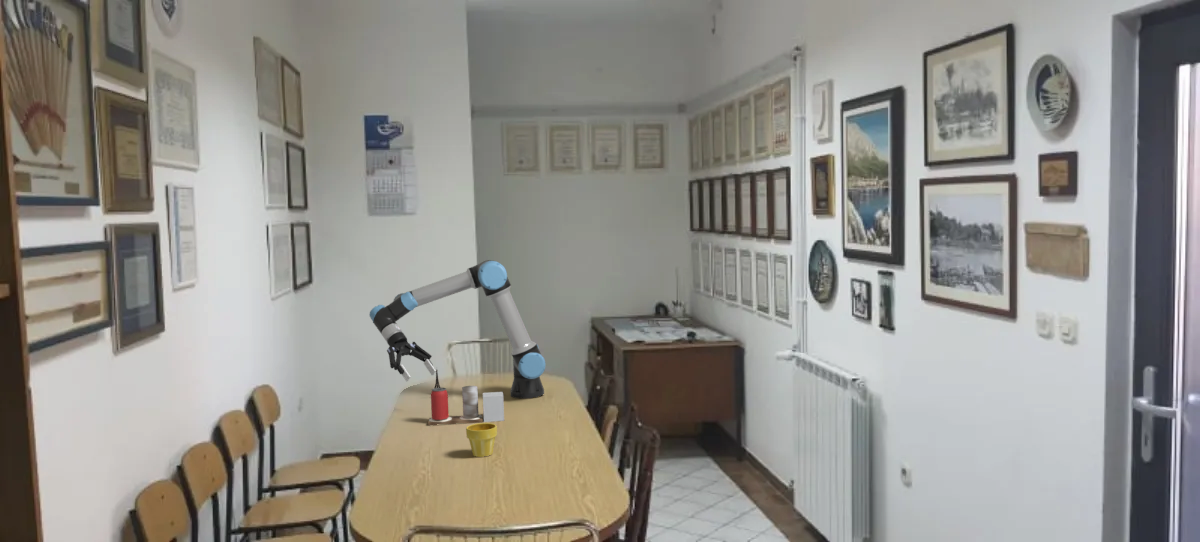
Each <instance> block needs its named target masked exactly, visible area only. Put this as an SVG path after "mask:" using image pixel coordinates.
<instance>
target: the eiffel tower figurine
mask: <svg viewBox="0 0 1200 542" xmlns="http://www.w3.org/2000/svg"><path fill="white" fill-rule="evenodd" d="M435 370H436V372H435V384H434V388H442V387H441V386H440V381H439V373H438V368H436V369H435ZM434 388H433V389H434Z"/></svg>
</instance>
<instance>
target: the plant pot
mask: <svg viewBox="0 0 1200 542" xmlns="http://www.w3.org/2000/svg"><path fill="white" fill-rule="evenodd" d="M465 432H466V438H467V439H468V441H469V445H470V449H471V452H472V456H473V457H475V456H476V458H485V457H484V456H487V457H490V456H492V455H493V454H494V448H495V446H494V445H495V443H496V442H495V440H496V438H497V435H498V426H497V425H496V424H495V423H492V422H479V423H472V424H469V425H468V426H466V427H465ZM489 455H490V456H489Z"/></svg>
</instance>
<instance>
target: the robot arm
mask: <svg viewBox="0 0 1200 542" xmlns="http://www.w3.org/2000/svg"><path fill="white" fill-rule="evenodd" d="M479 288H482V290H483V292H484V294H485V297H487V298H489V299H491V302H492V304H493V306H494V308H495V311H496V313H497V315H498V318H499V320H500V323H501V326H503V329H504V331H505V334H506V335H507V338H508V340H509V343H510V345H511V348H512V350H511V356H512V365H513V369H512V370H513V380H512V384H511V388H510V397H511V398H515V399H533V397H535V398H539V397H538V396H540V397H542V396H541V395H543V394H544V395H545V389H544V386H543V383H542V380H541V378H540V377H541V376H542V375H543V373H544V372H545V369H546V359H545V357H543V355H542V353H541V350H540V347H539V344H538V343H537V342H535V341H533V340H532V339H531V336H530V335H529V332H528V330H527V328H526V326H525V323H524V321H523V319H522V316H521V314H520V311H519V309H518V307H517V304H516V302H515V300H514V298H513V295H512V293H511V288H512V284H511V281H510V280H509V278H508V273H507V269H506V268H505V266H504V265H503V264H501V263H500V262H498V261H496V260H491V259H488V260H487V259H486V260H483V261H482V262H480V263H477V264H476V265H474V266H471V267H468V268H467V269H466V270H465V271H464V272H461V273H459V274H458V273H457V274H455V275H451V276H449V277H446V278H444V279H440V280H438V281H435V282H432V283H430V284H426V285H423V286H421V287H418V288H415V289H412V290H409V291H406V292H404V293H403V292H402V293H399V294H397V295H396V296H394V298H393V301H392V302H390V303H389V304H388V305H386V306H385V305H383V304H378V305H377V306H374V307H373V308H371V310H370V311H369V317H370V319H371V321H372V323H373V324H374V326H375V327H376V329H377V330H378V331H379V333H380V334H381V336H382V337H383V338H384V340H385V341H386V343H387V345H388V346H389V347H388V348H387V350H386V352H387V354H388V359H389V366H390V369H394V371H397V372H398V373H399V375H401V376H402V377H403V378H404V380H405V382H409V380H410V379H411V375H410V373H409V372H408V371H407V369H406V367H405V366H404V364H401V362H402V357H404V356H412V357H414V358H416V359H418V360H420V361H422V362H423V365H424V366H425V368H426V370H427V371H428V372H429V374H430V375H431V376H434V375H435V374H436V369H435V367H434V365H433V363H432V361H431V360H430V359H431V358H432V356H433V355H431V354H430V353H429V352H427V351H426V350H424V349H423V348H422V347H421V346H419V345H418V344H417V343H416V342H415V341H412V343H409V341H408V338H407V336H406V335H405V333H404V332H403V330H402V329H401V328H400V326H399V325H398V323H397V322H398V321H399V320H400V319H402V318H403V317H404V316H405V315H407V314H408V313H410V312H411V311H413V310H415V309H416V308H417V307H420V306H424V305H427V304H429V303H433V302H434V301H437V300H441V299H444V298H446V297H449V296H452V295H455V294H458V293H461V292H463V291H466V290H469V289H474V290H476V289H479ZM395 353H396V355H395ZM544 395H543V396H544Z"/></svg>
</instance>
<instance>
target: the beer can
mask: <svg viewBox="0 0 1200 542" xmlns="http://www.w3.org/2000/svg"><path fill="white" fill-rule="evenodd" d="M430 394H431V396H430V404H431V410H430V411H431V418H432V419H433V420H437V421H440V420H446V419H448V417H450V415H449V396H448V395H449V394H448V391H447V388H446V387H441V388H439V387H438V388H432V389H431V393H430Z"/></svg>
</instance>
